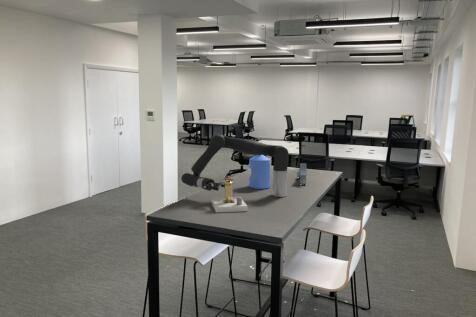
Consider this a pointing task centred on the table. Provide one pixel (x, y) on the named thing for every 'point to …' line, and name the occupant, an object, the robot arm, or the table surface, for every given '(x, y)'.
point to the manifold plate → (229, 205)
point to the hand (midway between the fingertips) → (223, 187)
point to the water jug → (259, 172)
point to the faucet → (302, 173)
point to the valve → (228, 190)
